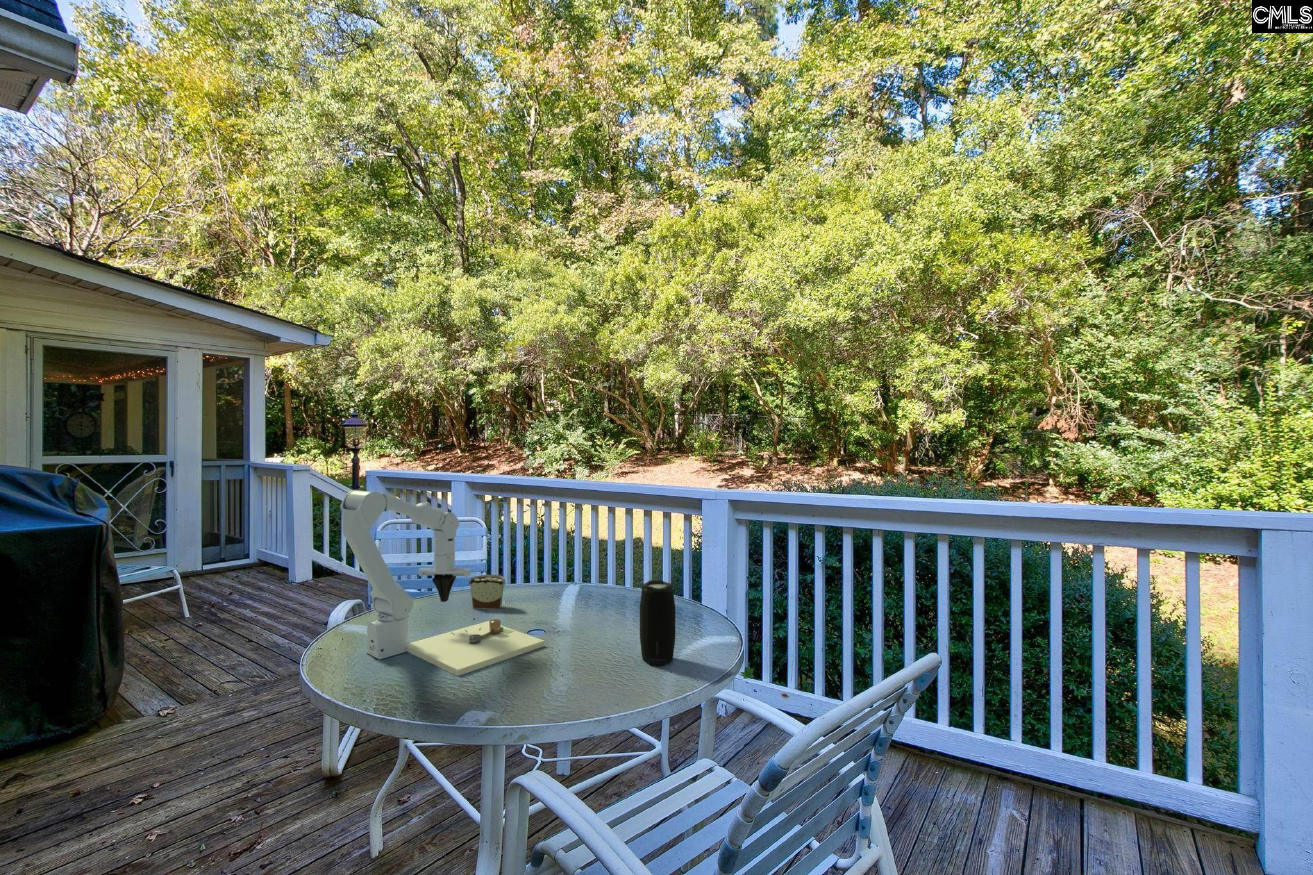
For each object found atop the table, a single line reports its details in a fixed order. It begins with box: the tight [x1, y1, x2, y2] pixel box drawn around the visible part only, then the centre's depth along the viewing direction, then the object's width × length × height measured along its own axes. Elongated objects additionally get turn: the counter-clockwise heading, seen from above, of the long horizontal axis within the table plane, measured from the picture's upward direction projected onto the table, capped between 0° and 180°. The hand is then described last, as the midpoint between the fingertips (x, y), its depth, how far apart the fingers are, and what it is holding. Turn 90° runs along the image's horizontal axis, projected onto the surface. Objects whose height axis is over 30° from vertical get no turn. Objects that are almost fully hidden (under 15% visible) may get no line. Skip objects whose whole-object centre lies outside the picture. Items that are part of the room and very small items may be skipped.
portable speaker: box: [639, 579, 676, 667], centre depth 150 cm, size 9×9×20 cm
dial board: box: [406, 620, 545, 677], centre depth 159 cm, size 26×26×2 cm
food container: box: [468, 574, 507, 610], centre depth 197 cm, size 12×6×10 cm, turn 84°
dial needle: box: [469, 618, 503, 643], centre depth 163 cm, size 12×3×3 cm, turn 155°
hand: (444, 600), depth 170 cm, fingers closed
